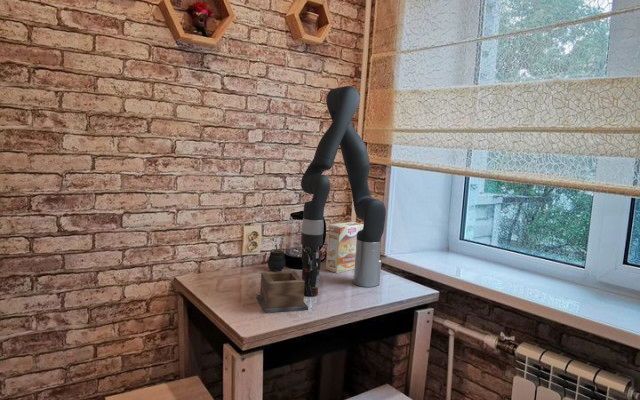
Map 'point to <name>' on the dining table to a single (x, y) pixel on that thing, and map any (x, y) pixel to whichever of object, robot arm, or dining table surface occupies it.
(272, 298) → the sleeve holder
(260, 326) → the dining table surface
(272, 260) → the mate gourd
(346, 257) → the coffeecake box
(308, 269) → the deodorant
